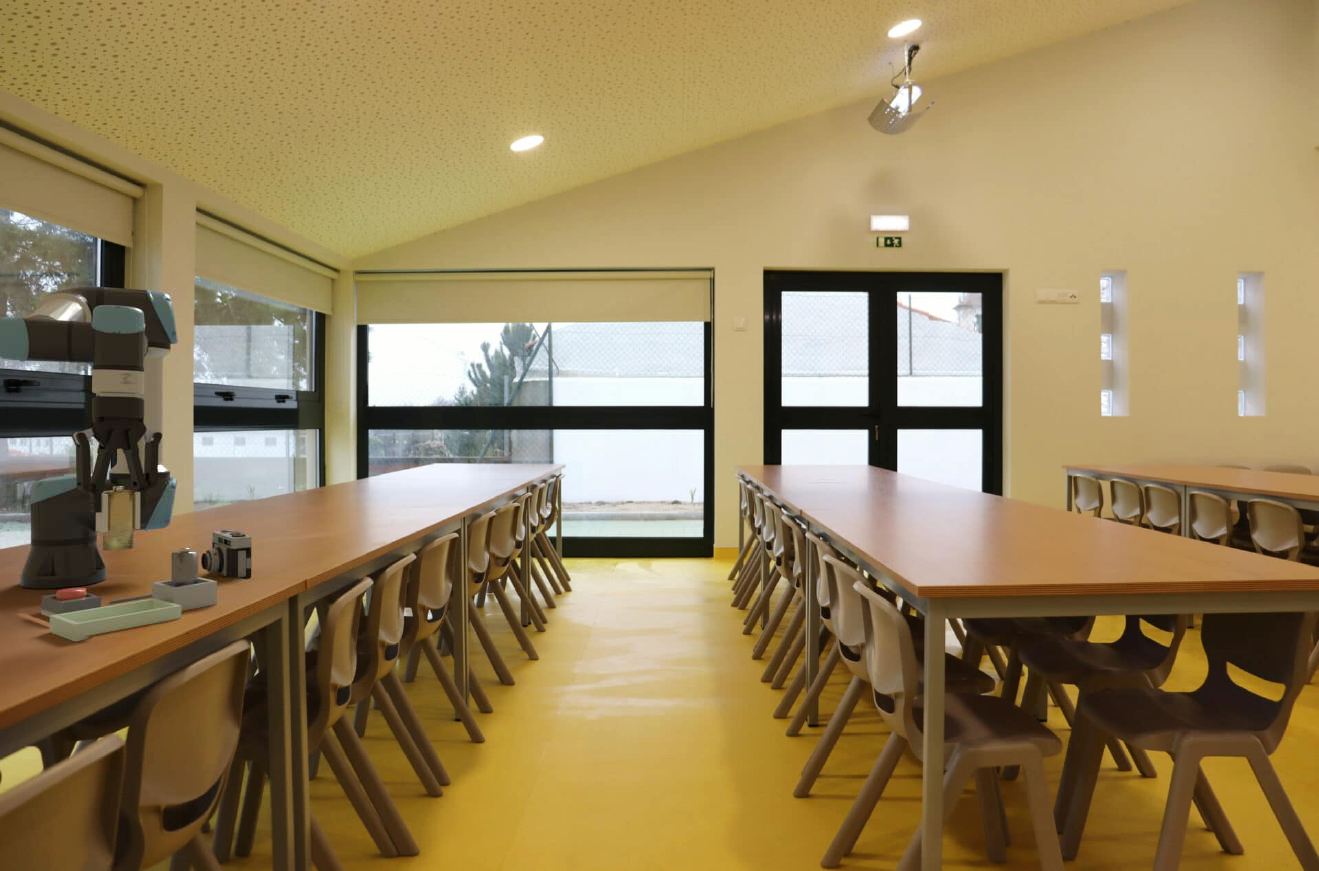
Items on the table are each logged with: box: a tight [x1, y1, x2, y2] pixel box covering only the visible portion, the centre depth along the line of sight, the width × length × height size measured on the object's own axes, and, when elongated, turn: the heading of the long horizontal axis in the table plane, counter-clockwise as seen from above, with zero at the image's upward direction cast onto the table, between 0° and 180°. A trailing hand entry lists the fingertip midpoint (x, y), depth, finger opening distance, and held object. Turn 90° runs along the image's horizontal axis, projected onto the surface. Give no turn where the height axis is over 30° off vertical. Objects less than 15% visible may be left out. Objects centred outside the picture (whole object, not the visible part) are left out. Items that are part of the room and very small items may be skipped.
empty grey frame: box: [109, 593, 152, 604], centre depth 156 cm, size 8×10×1 cm
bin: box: [151, 576, 218, 612], centre depth 154 cm, size 8×8×5 cm
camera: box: [200, 529, 252, 580], centre depth 185 cm, size 14×8×10 cm, turn 46°
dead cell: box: [171, 547, 199, 587], centre depth 154 cm, size 4×4×11 cm
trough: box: [49, 598, 182, 642], centre depth 141 cm, size 10×17×3 cm, turn 147°
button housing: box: [40, 592, 102, 618], centre depth 147 cm, size 9×7×4 cm
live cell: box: [102, 486, 134, 552], centre depth 140 cm, size 4×4×11 cm
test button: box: [55, 587, 87, 601], centre depth 147 cm, size 4×4×2 cm
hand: (118, 529), depth 140 cm, fingers closed on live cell, 4 cm apart
